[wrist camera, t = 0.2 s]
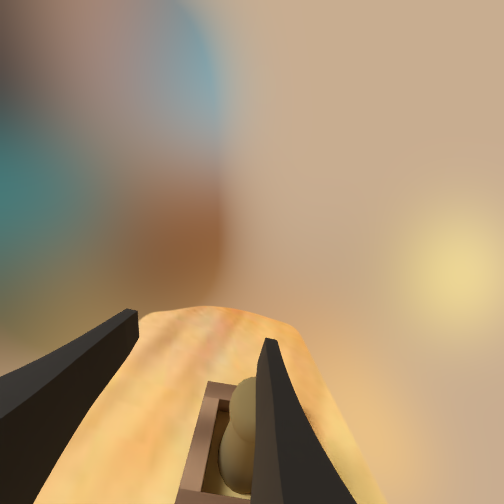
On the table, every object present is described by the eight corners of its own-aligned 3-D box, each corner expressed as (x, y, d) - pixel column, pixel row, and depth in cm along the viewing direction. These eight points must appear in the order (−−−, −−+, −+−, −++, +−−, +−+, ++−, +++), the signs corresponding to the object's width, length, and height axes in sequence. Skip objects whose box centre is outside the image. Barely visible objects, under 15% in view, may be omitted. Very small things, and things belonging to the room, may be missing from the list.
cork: (268, 426, 26) (286, 370, 21) (271, 497, 20) (296, 441, 16) (222, 420, 26) (231, 362, 21) (212, 490, 20) (221, 432, 16)
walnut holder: (304, 556, 18) (311, 547, 16) (169, 534, 18) (169, 523, 17) (289, 405, 28) (293, 394, 27) (207, 392, 29) (208, 381, 28)
